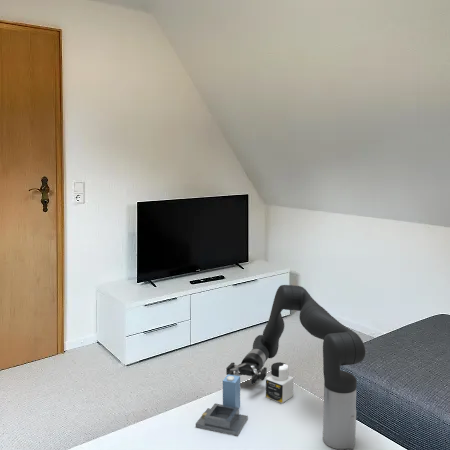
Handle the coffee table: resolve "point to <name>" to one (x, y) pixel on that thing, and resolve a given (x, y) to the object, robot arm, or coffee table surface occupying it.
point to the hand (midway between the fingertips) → (240, 379)
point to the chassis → (222, 419)
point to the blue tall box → (231, 391)
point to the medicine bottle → (279, 383)
